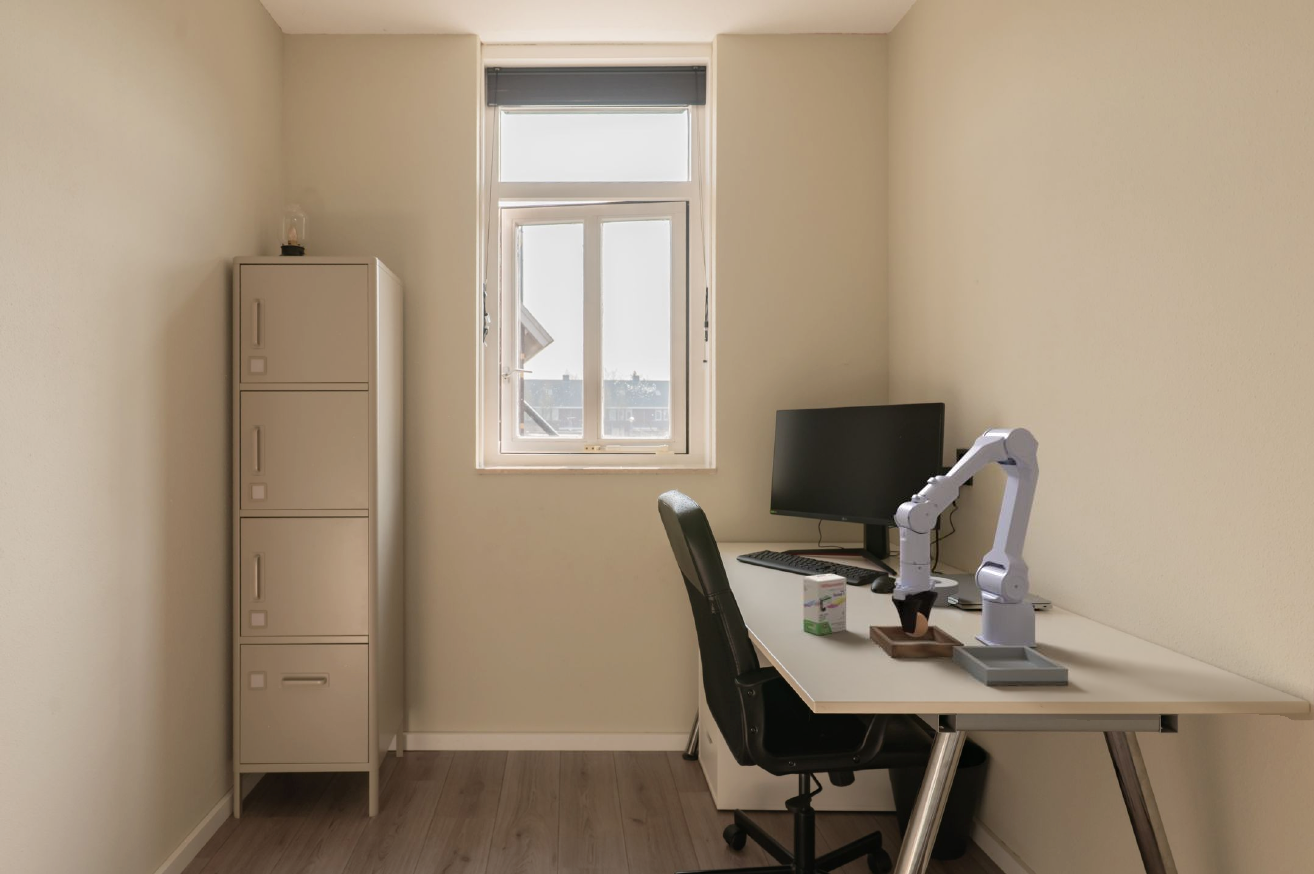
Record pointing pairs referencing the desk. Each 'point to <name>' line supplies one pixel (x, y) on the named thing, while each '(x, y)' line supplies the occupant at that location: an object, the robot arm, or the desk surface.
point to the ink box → (824, 603)
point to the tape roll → (943, 590)
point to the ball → (920, 626)
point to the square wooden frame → (940, 649)
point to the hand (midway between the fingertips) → (915, 629)
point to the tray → (1009, 665)
